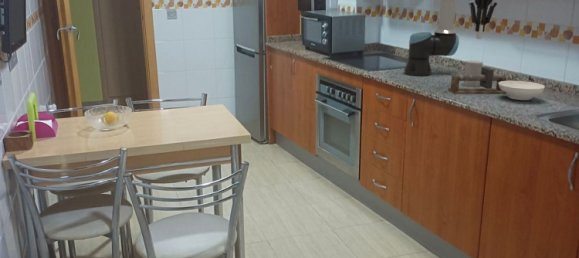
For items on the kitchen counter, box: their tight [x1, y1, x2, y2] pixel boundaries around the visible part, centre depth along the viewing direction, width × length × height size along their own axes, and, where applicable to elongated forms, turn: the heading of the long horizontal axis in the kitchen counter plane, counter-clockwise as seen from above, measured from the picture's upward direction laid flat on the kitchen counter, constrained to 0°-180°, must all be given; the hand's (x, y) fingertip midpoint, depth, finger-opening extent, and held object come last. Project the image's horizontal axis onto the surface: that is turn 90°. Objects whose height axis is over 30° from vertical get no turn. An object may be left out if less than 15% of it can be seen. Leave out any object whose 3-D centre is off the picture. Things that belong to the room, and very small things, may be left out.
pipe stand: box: [447, 74, 507, 95], centre depth 260 cm, size 26×8×9 cm, turn 95°
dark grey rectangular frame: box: [479, 66, 495, 89], centre depth 259 cm, size 2×8×9 cm, turn 5°
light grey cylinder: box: [462, 60, 483, 88], centre depth 277 cm, size 8×8×12 cm
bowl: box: [498, 80, 546, 101], centre depth 246 cm, size 20×20×7 cm
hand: (478, 38), depth 254 cm, fingers closed
